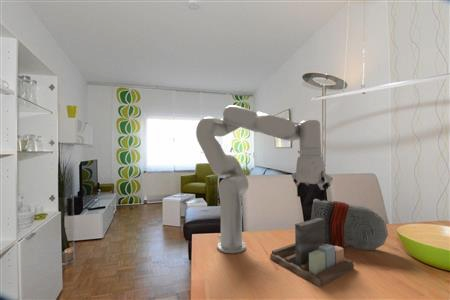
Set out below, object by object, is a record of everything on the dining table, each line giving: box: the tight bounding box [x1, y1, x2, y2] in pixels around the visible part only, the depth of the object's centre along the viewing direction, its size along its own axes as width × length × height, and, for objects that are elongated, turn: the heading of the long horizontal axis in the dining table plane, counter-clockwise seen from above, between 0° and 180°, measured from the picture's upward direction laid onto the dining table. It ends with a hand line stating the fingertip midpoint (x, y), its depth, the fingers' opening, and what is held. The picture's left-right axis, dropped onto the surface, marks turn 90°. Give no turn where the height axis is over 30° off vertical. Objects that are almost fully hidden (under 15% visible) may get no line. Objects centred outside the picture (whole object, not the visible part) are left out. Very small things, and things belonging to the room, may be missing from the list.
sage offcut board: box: [309, 250, 326, 276], centre depth 77 cm, size 3×5×8 cm, turn 122°
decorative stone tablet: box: [310, 198, 389, 251], centre depth 102 cm, size 19×6×30 cm
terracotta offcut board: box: [335, 246, 345, 265], centre depth 83 cm, size 3×5×7 cm, turn 122°
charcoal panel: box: [294, 218, 326, 267], centre depth 86 cm, size 2×14×16 cm, turn 122°
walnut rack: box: [269, 242, 355, 287], centre depth 86 cm, size 22×20×3 cm
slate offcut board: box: [319, 243, 335, 270], centre depth 80 cm, size 3×5×9 cm, turn 122°
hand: (311, 198), depth 86 cm, fingers open, 9 cm apart
